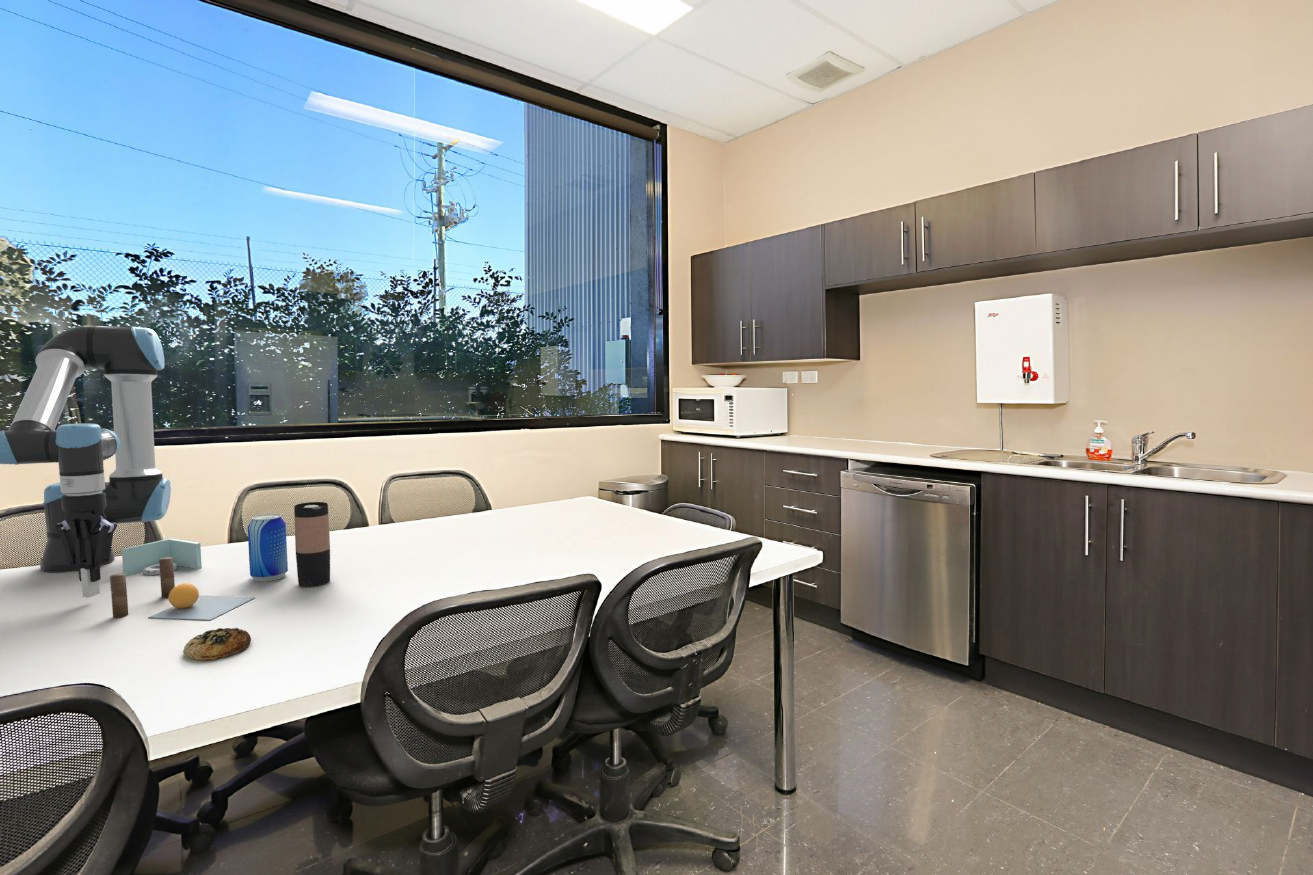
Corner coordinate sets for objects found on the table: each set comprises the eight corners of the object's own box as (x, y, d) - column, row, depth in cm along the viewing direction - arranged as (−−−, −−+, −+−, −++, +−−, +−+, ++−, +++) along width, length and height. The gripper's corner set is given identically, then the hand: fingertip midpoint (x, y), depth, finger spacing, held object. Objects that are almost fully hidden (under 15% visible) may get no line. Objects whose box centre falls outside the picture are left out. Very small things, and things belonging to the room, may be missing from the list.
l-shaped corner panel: (123, 577, 168) (121, 548, 168) (172, 564, 179) (171, 538, 179) (153, 583, 164) (151, 554, 163) (201, 570, 175) (200, 542, 174)
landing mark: (148, 617, 139) (148, 617, 139) (198, 595, 153) (198, 595, 153) (210, 620, 138) (210, 619, 138) (255, 598, 152) (255, 597, 152)
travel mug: (305, 578, 167) (302, 501, 165) (336, 577, 168) (333, 501, 166) (291, 588, 159) (287, 508, 158) (323, 587, 160) (320, 507, 158)
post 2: (158, 597, 152) (156, 560, 151) (167, 593, 154) (165, 556, 154) (169, 597, 152) (166, 560, 151) (178, 594, 154) (175, 557, 153)
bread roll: (264, 637, 130) (259, 614, 129) (230, 669, 119) (225, 645, 118) (207, 639, 130) (203, 616, 129) (168, 672, 119) (163, 647, 118)
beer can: (270, 583, 163) (267, 520, 161) (242, 581, 164) (238, 519, 163) (295, 573, 171) (292, 513, 169) (268, 571, 173) (265, 512, 171)
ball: (180, 585, 142) (187, 609, 142) (201, 578, 147) (207, 601, 148) (159, 590, 143) (166, 614, 143) (180, 582, 148) (187, 605, 148)
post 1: (109, 617, 139) (106, 576, 138) (120, 613, 142) (117, 573, 141) (121, 617, 139) (118, 577, 138) (131, 613, 142) (128, 573, 141)
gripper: (39, 495, 142) (48, 599, 144) (95, 496, 141) (102, 601, 143) (72, 489, 149) (80, 588, 152) (125, 490, 148) (132, 590, 151)
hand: (91, 595), depth 148 cm, fingers closed
